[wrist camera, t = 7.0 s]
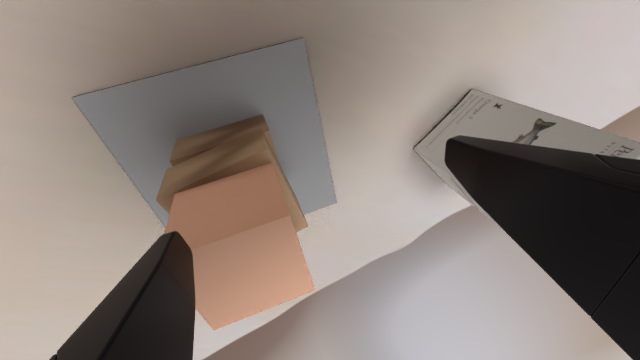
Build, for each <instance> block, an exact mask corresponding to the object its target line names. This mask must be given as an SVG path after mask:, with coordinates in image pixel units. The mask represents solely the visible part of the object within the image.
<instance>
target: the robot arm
mask: <svg viewBox="0 0 640 360" xmlns="http://www.w3.org/2000/svg"><path fill="white" fill-rule="evenodd" d="M444 161H445V164H446V166H447V168H448V169H449V170H450V171H451V173H452V174H453V175H454V176H455V178H456V179H457V180H458V181H459V183H460V184H461V185H462V186H463V188H464V189H465V190H466V191H467V193H468V194H469V195H470V196H471V197H472V198H473V199H474V201H475V202H476V203H477V204H478V205H479V206H480V207H481V208H482V209H483V210H484V211H485V212H486V213H487V214H488V215H489V216H490V217H491V218H492V219H493V220H494V221H495V222H496V223H497V224H498V225H499V226H500V227H501V228H502V229H503V230H504V231H505V232H506V233H507V234H508V235H509V236H510V237H511V238H512V239H513V240H514V241H515V242H516V243H517V244H518V245H519V246H520V247H521V248H522V249H523V250H524V251H525V252H526V253H527V254H528V255H529V256H530V257H531V258H532V259H533V260H534V261H535V262H536V263H537V264H538V265H539V266H540V267H541V268H542V269H543V270H544V271H545V272H546V273H547V274H548V275H549V276H550V277H551V278H552V279H553V280H554V281H555V282H556V283H557V284H558V285H559V286H560V287H561V288H562V289H563V290H564V291H565V292H566V293H567V294H568V295H569V296H570V297H571V298H572V299H573V300H574V301H575V302H576V303H577V304H578V305H579V306H580V307H581V308H582V309H583V310H584V311H585V312H586V313H587V314H588V315H589V316H591V318H592V319H593V320H594V321H595V322H596V323H597V324H598V325H599V326H600V327H601V328H602V329H603V330H604V331H605V332H606V333H607V334H608V335H609V336H610V337H611V338H612V339H613V340H614V341H615V342H616V343H617V344H618V345H619V346H620V347H621V348H622V349H623V350H624V351H625V352H626V353H627V354H628V355H629V356H630V357H631V358H632V359H633V360H640V160H639V159H631V158H623V157H615V156H608V155H601V154H592V153H586V152H579V151H571V150H564V149H557V148H550V147H542V146H535V145H528V144H521V143H513V142H506V141H499V140H492V139H484V138H477V137H470V136H463V135H458V136H455V137H452V138H449V139H448V140H447V141H446V146H445V158H444ZM195 302H196V300H195V282H194V267H193V254H192V251H191V248H190V247H189V246H188V244H187V243H186V241H185V240H184V239H183V237H182V236H181V234H180V233H179V232H177V231H172V232H169V233H166V234H163V235H162V236H160V237H159V239H158V240H157V241H156V242H155V243H154V244H153V245H152V246H151V247H150V249H149V250H148V251H147V252H146V253H145V254H144V255H143V256H142V257H141V259H140V260H139V261H138V262H137V263H136V264H135V265H134V266H133V267H132V269H131V270H130V271H129V272H128V273H127V274H126V275H125V276H124V277H123V279H122V280H121V281H120V282H119V283H118V284H117V285H116V286H115V287H114V289H113V290H112V291H111V292H110V293H109V294H108V295H107V296H106V297H105V299H104V300H103V301H102V302H101V303H100V304H99V305H98V306H97V307H96V309H95V310H94V311H93V312H92V313H91V314H90V315H89V316H88V317H87V319H86V320H85V321H84V322H83V323H82V324H81V325H80V326H79V327H78V329H77V330H76V331H75V332H74V333H73V334H72V335H71V336H70V337H69V339H68V340H67V341H66V342H65V343H64V344H63V345H62V346H61V347H60V349H59V350H58V351H57V354H55V355H53V356H52V357H51V358H50V360H192V358H193V340H194V323H195Z"/></svg>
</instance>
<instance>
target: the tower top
mask: <svg viewBox="0 0 640 360" xmlns="http://www.w3.org/2000/svg"><path fill="white" fill-rule="evenodd" d="M269 163H272V164H273V167H274V170H275V173H276V176H277V178H278V181H279V184H280V187H281V190H282V193H283V196H284V199H285V202H286V205H287V208H288V211H289V214H290V217H291V220H292V223H293V226H294V228H295V231H296V232H298V231H300V230H302V229H304V228H306V227H308V224H307V222H306V219H305V217H304V215H303V212H302V210H301V207H300V205H299V202H298V200H297V197H296V195H295V194H294V192H293V190H292V188H291V186H290V184H289V182H288V180H287V178H286V176H285V174H284V172H283V170H282V168H281V166H280V164H279V162H278V160H277V158H276V156H275V154H274V153H273V151H272V149H271V147H270V145H269V143H268V141H267V139H266V137H265V135H264V133H263V131H262V129H261V127H259V128H256V129H254V130H252V131H250V132H248V133H245V134H243V135H241V136H239V137H237V138H234V139H232V140H230V141H228V142H225V143H223V144H221V145H219V146H217V147H214V148H212V149H210V150H208V151H206V152H203V153H201V154H199V155H197V156H195V157H192V158H190V159H188V160H186V161H184V162H181V163H179V164H177V165H175V166H173V167H170V168H168V169H166V172H165V175H164V177H163V180H162V183H161V186H160V189H159V192H158V195H157V197H156V201H157V202H158V203H159V204H160V205H161V206H162V207H163V209H164V210H165V211H166V212H167V213H168V214H170V210H171V206H172V202H173V198H174V194H176V193H179V192H182V191H185V190H188V189H191V188H195V187H198V186H201V185H204V184H207V183H210V182H213V181H216V180H219V179H223V178H226V177H229V176H232V175H235V174H238V173H241V172H244V171H248V170H251V169H254V168H257V167H260V166H263V165H266V164H269Z"/></svg>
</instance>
